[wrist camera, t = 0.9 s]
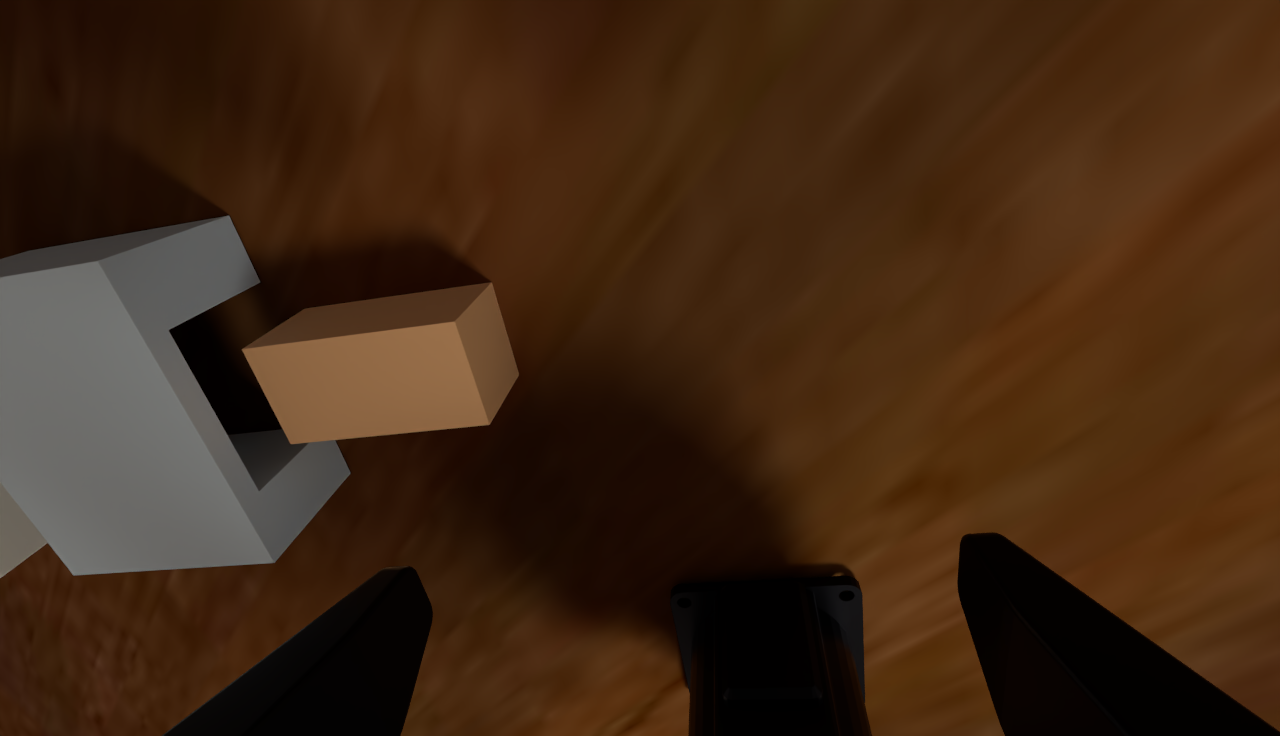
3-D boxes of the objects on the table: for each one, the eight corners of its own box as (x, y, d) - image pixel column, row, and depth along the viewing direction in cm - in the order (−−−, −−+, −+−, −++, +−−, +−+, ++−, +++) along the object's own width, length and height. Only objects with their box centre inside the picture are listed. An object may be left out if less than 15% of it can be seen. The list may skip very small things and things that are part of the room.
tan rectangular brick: (520, 371, 19) (489, 424, 16) (346, 391, 20) (290, 444, 17) (493, 280, 18) (454, 321, 15) (308, 306, 19) (241, 349, 16)
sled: (351, 473, 21) (274, 563, 18) (178, 488, 23) (73, 575, 19) (229, 215, 17) (97, 261, 14) (28, 250, 19) (-142, 301, 15)
